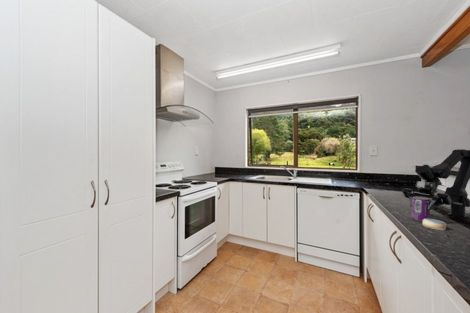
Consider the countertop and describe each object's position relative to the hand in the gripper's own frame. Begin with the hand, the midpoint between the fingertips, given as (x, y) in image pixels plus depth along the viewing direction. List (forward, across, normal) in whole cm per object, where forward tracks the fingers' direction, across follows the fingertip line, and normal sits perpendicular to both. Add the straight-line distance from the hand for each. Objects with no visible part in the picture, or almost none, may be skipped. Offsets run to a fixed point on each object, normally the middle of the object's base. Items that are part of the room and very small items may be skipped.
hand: (419, 208), depth 104 cm
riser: (+8, +7, +2) cm, 11 cm away
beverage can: (+4, 0, +6) cm, 7 cm away
